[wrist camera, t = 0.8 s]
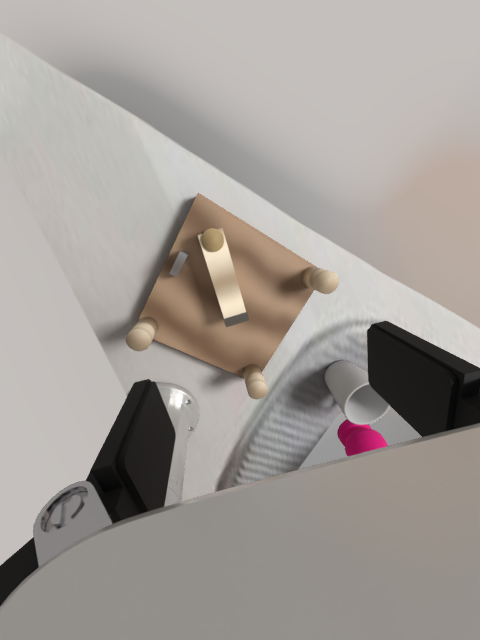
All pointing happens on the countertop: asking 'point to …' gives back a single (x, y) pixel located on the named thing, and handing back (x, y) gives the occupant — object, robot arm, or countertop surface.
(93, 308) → the countertop surface
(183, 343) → the stool seat
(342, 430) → the pepper mill
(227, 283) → the folding leg
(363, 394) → the cup
